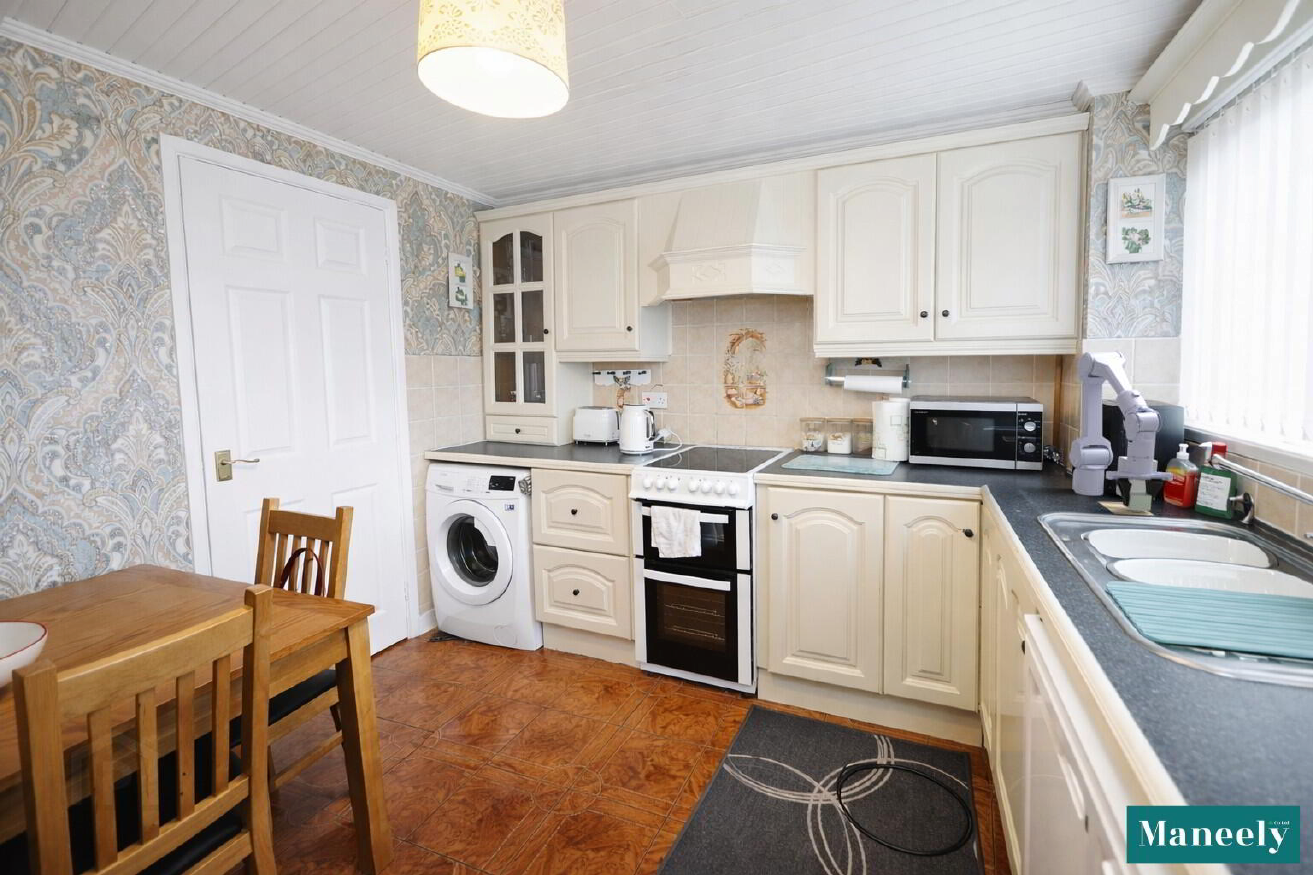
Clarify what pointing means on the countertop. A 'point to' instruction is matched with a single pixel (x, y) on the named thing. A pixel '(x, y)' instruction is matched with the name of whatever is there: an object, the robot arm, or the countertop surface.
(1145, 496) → the pale green block
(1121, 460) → the supplement box
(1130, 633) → the countertop surface
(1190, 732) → the countertop surface
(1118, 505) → the board
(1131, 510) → the silver knob
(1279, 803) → the countertop surface
